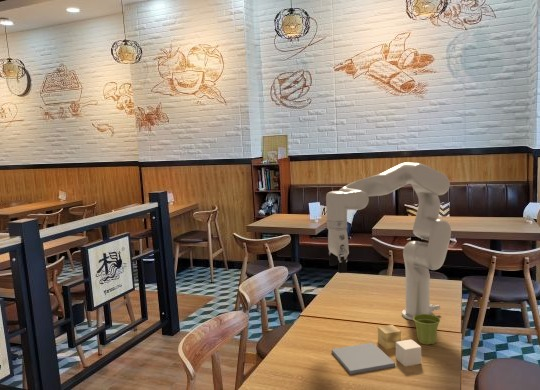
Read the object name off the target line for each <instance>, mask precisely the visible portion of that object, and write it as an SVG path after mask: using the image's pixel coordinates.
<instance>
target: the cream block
mask: <svg viewBox="0 0 540 390" xmlns="http://www.w3.org/2000/svg"><path fill="white" fill-rule="evenodd" d="M395 359H396V361H398V362H399V363H400V364H401V365H403V366H404V367H410V366H416V365H421V364H422V346H421V345H420V344H418V343H417V342H416V341H414V340H413V339H405V340H401V341H398V342H396V348H395Z"/></svg>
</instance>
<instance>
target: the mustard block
mask: <svg viewBox="0 0 540 390" xmlns="http://www.w3.org/2000/svg"><path fill="white" fill-rule="evenodd" d="M398 341H402V331H401V330H400V329H399V328H397V327H396V326H395V325H393V324H390V325H382V326H378V327H377V343H378V344H379V345H380V346H381V347H383V348H384V349H385V350H391V349H396V342H398Z"/></svg>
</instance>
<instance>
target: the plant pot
mask: <svg viewBox="0 0 540 390" xmlns="http://www.w3.org/2000/svg"><path fill="white" fill-rule="evenodd" d="M413 320H414V321H413ZM413 320H412V321H413V322H414V324H415V329H416V335H417V336H416V337H417V341H418V342H419V343H420V344H423V345H434V344H435V343H436V340H437V335H438V334H437V333H438V327H439V325H440V322H441V319H440V317H439V316H436V315H435V314H433V315H430V314H418V315H415V316H414V317H413Z"/></svg>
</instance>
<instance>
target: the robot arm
mask: <svg viewBox="0 0 540 390" xmlns="http://www.w3.org/2000/svg"><path fill="white" fill-rule="evenodd" d="M406 185H411V187H412V189H413V190H414V192H415V193H416V196H417V199H418V206H417V211H416V215H415V219H414V221H413V227H412V233H413V235H414V236H415V237H417V238H419V239H422V240H425V241H428V242H427V243H426V242H424V241H423V242H422V241H419V240H411V241H408V242H407V243H405V245H404V246H403V250H402V255H403V256H402V257H403V261H404V267H405V309H403V310H402V311H401V316H402V317H403V318H404V319H406V320H410V321H413V322H415V321H414V320H413V317H414V316H415V315H418V314H430V315H434V313H433V312H434V311H440V309H441V306H440V304H435V305H434V304H433V303H430V302H431V301H430V300H431V299H430V297H431V294H430V293H431V292H430V287H431V286H430V284H431V275H430V270H431V271H436V270H439V269H441V267H443V265H444V262H445V260H446V257H447V253H448V250H449V245H450V241H451V237H452V228H451V225H450V223H449V222H448V221H447V220H446V219H441V218H439V215H440V211H441V201H440V200H441V199H440V198H439V196H443V195H445V194H446V193H448V191H449V190H450V188H451V182H450V180H449V177H448V176H447V175H446V174H445V173H443V172H441V171H438V170H436V169H434V168H432V167H430V166H429V165H426V164H424V163H420V162H409V161H407V162H402V163H399V164H397V165H395V166H392V167H391V168H388V169H387V170H385V171H384V170H383V172H380V173H378V174H376V175H375V174H374V175H372V176H369V177H365V178H362V179H358V180H355V181H353V182H350V183H348V184H347V185H345V186H343V187H341V188H340V189H339V190H332V191H329V192H327V193H326V194H325V195H326V196H325V201H326V202H325V203H326V229H327V230H328V233H327V247H328V255H329V256H328V263H329V264H328V265H329V267H334V266H338V267H337V270H338V271H337V272H338V273H339V274H345V273H347V272H348V255H349V254H350V250H349V249H350V248H349V237H348V235H349V234H348V230H347V229H348V210H349V211H361V210H363V209H365V208H366V207H367V206H368V204H369V202H370V201H369V200H370V199H369V197H377V196H378V197H379V196H380V197H381V196H386V195H389V194H392V193H393V192H394V191H396V190H399V189H401V188H403V187H405V186H406Z"/></svg>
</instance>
